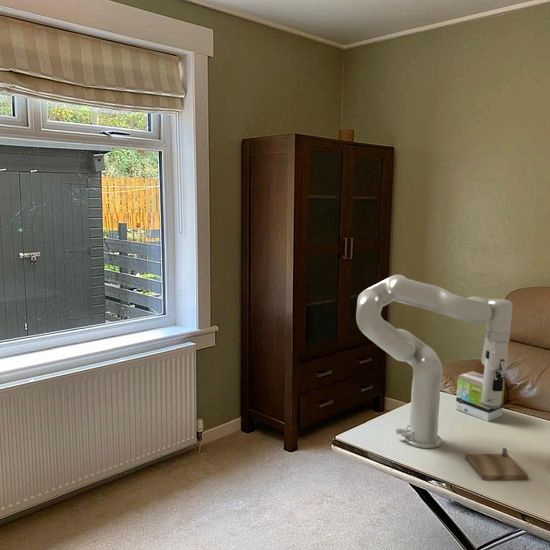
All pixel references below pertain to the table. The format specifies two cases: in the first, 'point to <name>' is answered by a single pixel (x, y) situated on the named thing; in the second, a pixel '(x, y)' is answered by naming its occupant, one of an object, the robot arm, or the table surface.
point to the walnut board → (496, 466)
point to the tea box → (475, 397)
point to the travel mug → (490, 388)
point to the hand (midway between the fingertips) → (492, 386)
